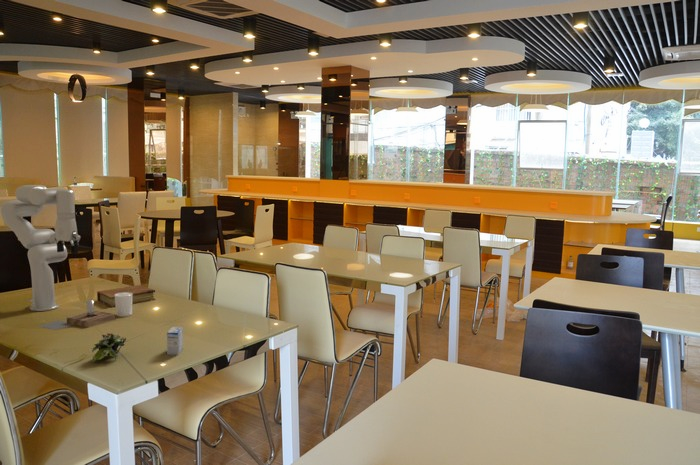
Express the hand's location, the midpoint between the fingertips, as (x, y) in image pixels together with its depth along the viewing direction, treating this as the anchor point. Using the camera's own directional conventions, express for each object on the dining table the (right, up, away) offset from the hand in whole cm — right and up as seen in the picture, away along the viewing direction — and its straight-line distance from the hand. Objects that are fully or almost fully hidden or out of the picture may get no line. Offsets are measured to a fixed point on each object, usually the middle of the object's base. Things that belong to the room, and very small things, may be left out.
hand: (67, 252), depth 262 cm
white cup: (+25, -30, +5) cm, 39 cm away
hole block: (+15, -31, -8) cm, 36 cm away
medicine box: (+65, -37, -46) cm, 88 cm away
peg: (+15, -31, -8) cm, 36 cm away
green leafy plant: (+44, -37, -55) cm, 80 cm away
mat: (+3, -32, -14) cm, 35 cm away
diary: (+14, -27, +33) cm, 45 cm away
